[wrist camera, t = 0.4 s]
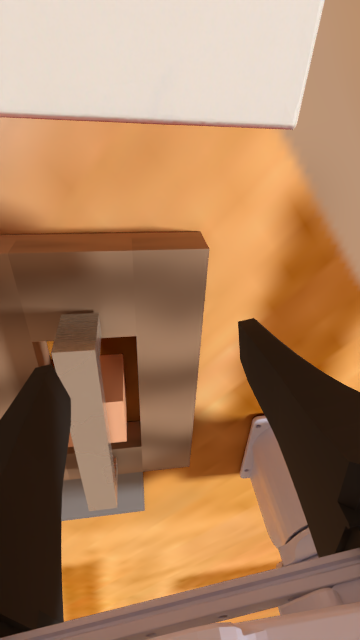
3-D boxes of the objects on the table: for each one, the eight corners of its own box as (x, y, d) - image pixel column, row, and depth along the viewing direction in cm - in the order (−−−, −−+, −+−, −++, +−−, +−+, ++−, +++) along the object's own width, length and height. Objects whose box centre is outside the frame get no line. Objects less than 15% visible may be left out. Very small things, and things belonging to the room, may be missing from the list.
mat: (144, 506, 37) (144, 510, 37) (49, 518, 36) (48, 522, 35) (141, 452, 31) (141, 456, 31) (28, 464, 30) (27, 468, 30)
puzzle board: (185, 441, 31) (189, 466, 29) (-5, 460, 29) (-15, 488, 27) (200, 231, 20) (209, 248, 18) (-112, 236, 18) (-143, 256, 16)
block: (126, 392, 27) (126, 441, 23) (73, 396, 26) (65, 447, 22) (122, 353, 24) (123, 401, 21) (65, 356, 24) (55, 406, 20)
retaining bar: (117, 467, 27) (117, 507, 25) (92, 470, 27) (89, 511, 24) (98, 312, 19) (94, 350, 16) (61, 314, 18) (51, 352, 16)
